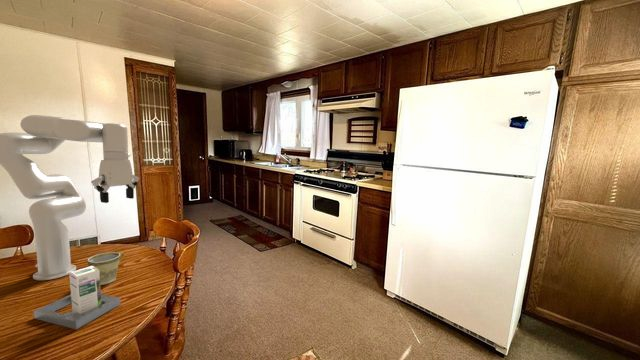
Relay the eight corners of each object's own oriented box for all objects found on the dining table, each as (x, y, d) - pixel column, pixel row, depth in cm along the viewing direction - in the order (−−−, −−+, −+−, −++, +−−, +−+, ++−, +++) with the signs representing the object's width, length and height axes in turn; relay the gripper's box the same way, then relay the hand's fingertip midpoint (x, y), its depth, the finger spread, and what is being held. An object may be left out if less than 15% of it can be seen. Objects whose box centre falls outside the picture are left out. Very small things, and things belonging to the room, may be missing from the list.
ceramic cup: (103, 289, 97) (101, 263, 96) (82, 285, 99) (80, 260, 98) (134, 273, 110) (133, 250, 109) (114, 270, 112) (113, 248, 111)
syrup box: (79, 321, 79) (76, 276, 78) (72, 314, 82) (68, 271, 81) (102, 311, 84) (99, 269, 83) (94, 305, 87) (91, 264, 86)
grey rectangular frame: (34, 318, 80) (33, 310, 80) (81, 296, 92) (81, 289, 92) (76, 329, 76) (76, 321, 75) (120, 304, 88) (120, 297, 88)
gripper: (130, 155, 108) (131, 196, 110) (83, 156, 92) (85, 203, 94) (144, 156, 106) (145, 197, 108) (98, 157, 90) (101, 205, 92)
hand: (118, 200), depth 101 cm, fingers open, 9 cm apart
